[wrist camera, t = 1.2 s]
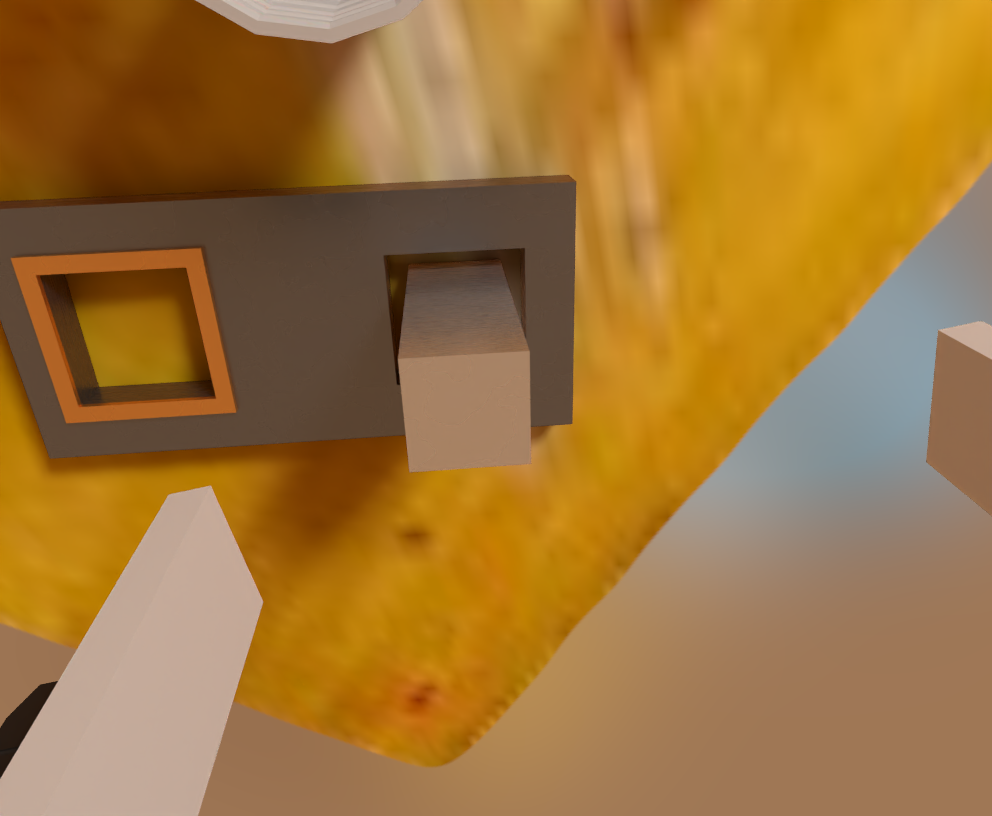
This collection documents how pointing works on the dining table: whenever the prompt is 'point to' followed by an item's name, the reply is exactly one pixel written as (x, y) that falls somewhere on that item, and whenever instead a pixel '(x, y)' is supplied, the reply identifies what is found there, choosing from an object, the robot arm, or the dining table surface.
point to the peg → (463, 368)
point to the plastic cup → (312, 16)
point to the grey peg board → (273, 305)
